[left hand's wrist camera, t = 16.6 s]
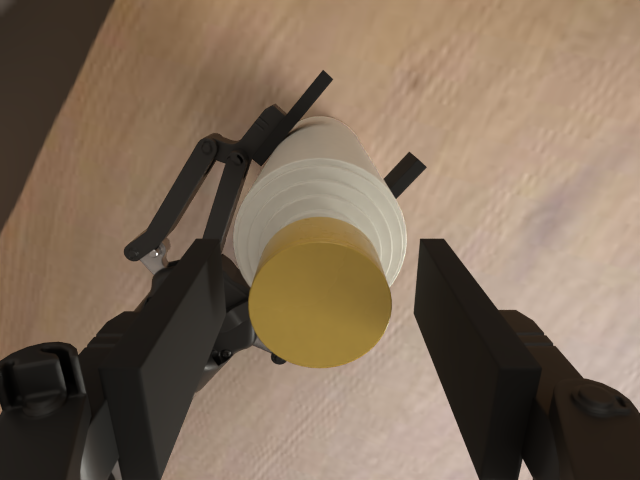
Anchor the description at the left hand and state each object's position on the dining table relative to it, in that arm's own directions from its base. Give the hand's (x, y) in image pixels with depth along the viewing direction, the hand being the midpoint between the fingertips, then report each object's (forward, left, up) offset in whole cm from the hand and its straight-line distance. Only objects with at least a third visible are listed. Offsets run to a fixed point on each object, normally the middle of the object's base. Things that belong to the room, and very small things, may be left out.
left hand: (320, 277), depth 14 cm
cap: (0, 0, +2) cm, 2 cm away
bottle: (0, 0, -21) cm, 21 cm away
